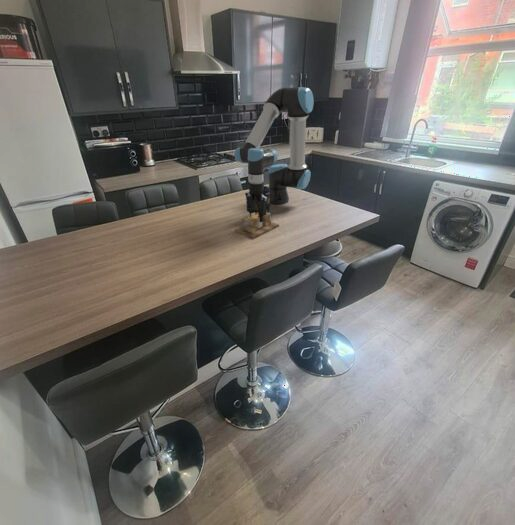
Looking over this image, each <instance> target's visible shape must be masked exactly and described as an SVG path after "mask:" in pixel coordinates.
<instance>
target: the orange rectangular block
mask: <svg viewBox="0 0 515 525" xmlns="http://www.w3.org/2000/svg"><path fill="white" fill-rule="evenodd" d="M258 216H259V214H256V215H254V216H251V218H254V219H257V220H258ZM262 227H263V222H262Z"/></svg>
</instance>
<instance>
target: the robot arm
mask: <svg viewBox="0 0 515 525" xmlns="http://www.w3.org/2000/svg"><path fill="white" fill-rule="evenodd" d="M314 102H315V100H314V94H313V92H312V90H311V89H310V88H309V87H303V86H299V87H298V86H295V87H282V88H281V87H280V88H278V89H277V90H276V91H274V92H273V93H272V94H271V95H270V96H268V98H267V99H266V101H264V104H263V106H262V112H261V114H260V115H259V117H258V119H257V120H256V122H255V125H254V126H253V128H252V129H251V131H250V133H249V135H248V137H247V139H246V140H245V142H244V144H243V145H242V146H239V147H237V148H235V151H234V159H235V160H236V162H238V163H241V164H247V168H248V171H247V174H248V175H247V176H248V179H247V180H248V192H245V200H246V202H245V203H246V211H247V212H248V213H249V217H251V216H254V215H255V213H254V212H255V211H254V210H255V203H257V208H258V214H259V216H258V228H260V227H262V222H263V216H265V215H266V208H267V199H268V197H265V196H264V195H263V190H264V186H265V183H264V181H265V179H264V177H265V175H264V172H265V171H264V170H265V169H264V168H267V167H268V187H269V188H270V205H284V204H288V203H289V201H290V196H289V194H288V189H287V188H291V189H296V190H304V189H306V188H307V186H308V185H309V183H310V180H311V173H312V172H311V171H310V169H308V165H307V164H306V135H307V134H306V132H307V119H308V118H309V116H310V113H312V111H313V110H314V104H315V103H314ZM281 113H287V118H288V119H289V123H290V126H289V129H290V131H289V133H290V134H289V137H290V138H289V139H290V143H289V147H290V148H289V150H290V152H289V155H290V157H289V158H290V160H289V161H290V163H289V164H287V163H277V161H278V157H279V156H278V152H277V151H276V150H275V149H273V148H267V149H263V148H260V146H261V144H262V143H263V142H264V139H265V137H266V136H267V133H268V132H269V130H270V128H271V127H272V124H273V123H274V121H275V119H276V118H278V117H279V116H280V114H281Z"/></svg>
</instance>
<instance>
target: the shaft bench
mask: <svg viewBox="0 0 515 525" xmlns="http://www.w3.org/2000/svg"><path fill="white" fill-rule="evenodd" d="M256 214H258V212H257V213H256ZM271 215H272V214H271V212H270V213H267V212H266V215H265V216H263V227H260V228H258V220H257V219H254V218H251V217H250V216H246V217H242V222H241V223H242V224H241V226H238V227H236V228H234V232H235V233H238V234H241V235H243V236H245V237H248V238H251V239H253V240H255V239H257V238H258V237H261V236H262V235H265V234H268V233H269V232H271V231H273V230H275V229H277V228H279V227H280V224H278V223H275V222H273V221H272V216H271Z"/></svg>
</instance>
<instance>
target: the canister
mask: <svg viewBox="0 0 515 525" xmlns="http://www.w3.org/2000/svg"><path fill="white" fill-rule="evenodd" d="M263 195H264V196H265V197H268V199H267V208H266V212H267V213H270V214H271V212H270V210H271V203H270V188H269V186H266V185H264V190H263ZM254 211H255V212H254V213H255V215H256V213H257V212H258V208H257V203H255V210H254Z"/></svg>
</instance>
